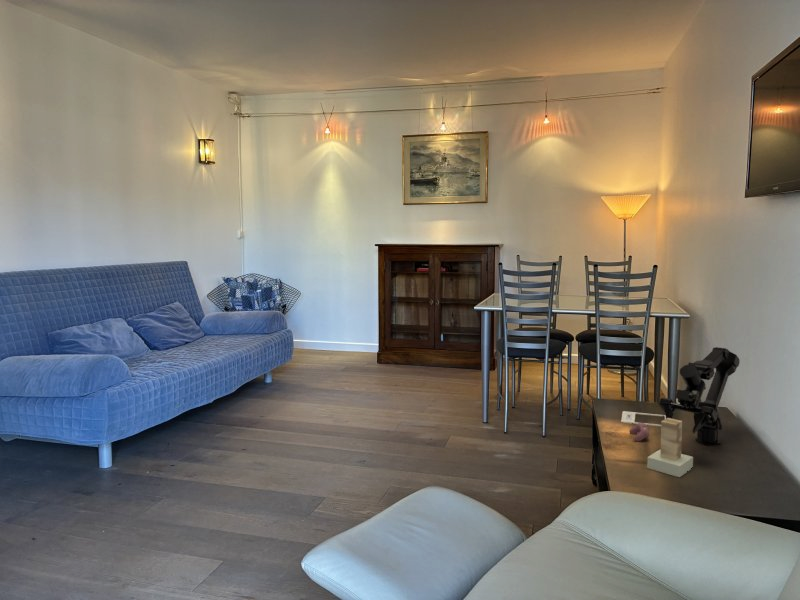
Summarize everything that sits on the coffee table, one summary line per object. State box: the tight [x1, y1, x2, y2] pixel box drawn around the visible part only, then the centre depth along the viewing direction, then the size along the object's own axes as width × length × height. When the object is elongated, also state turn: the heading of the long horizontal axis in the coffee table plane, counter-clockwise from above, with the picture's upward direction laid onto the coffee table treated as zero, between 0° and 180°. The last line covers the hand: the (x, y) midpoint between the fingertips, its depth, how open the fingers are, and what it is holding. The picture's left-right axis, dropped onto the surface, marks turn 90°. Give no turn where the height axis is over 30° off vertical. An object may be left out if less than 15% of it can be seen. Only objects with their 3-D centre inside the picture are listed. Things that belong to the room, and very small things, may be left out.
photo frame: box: [620, 410, 666, 427], centre depth 250 cm, size 15×1×18 cm
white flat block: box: [646, 448, 694, 478], centre depth 200 cm, size 11×11×4 cm
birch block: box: [660, 418, 683, 461], centre depth 199 cm, size 5×5×13 cm
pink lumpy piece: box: [629, 422, 650, 442], centre depth 229 cm, size 10×5×7 cm, turn 169°
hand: (679, 429), depth 203 cm, fingers open, 9 cm apart
